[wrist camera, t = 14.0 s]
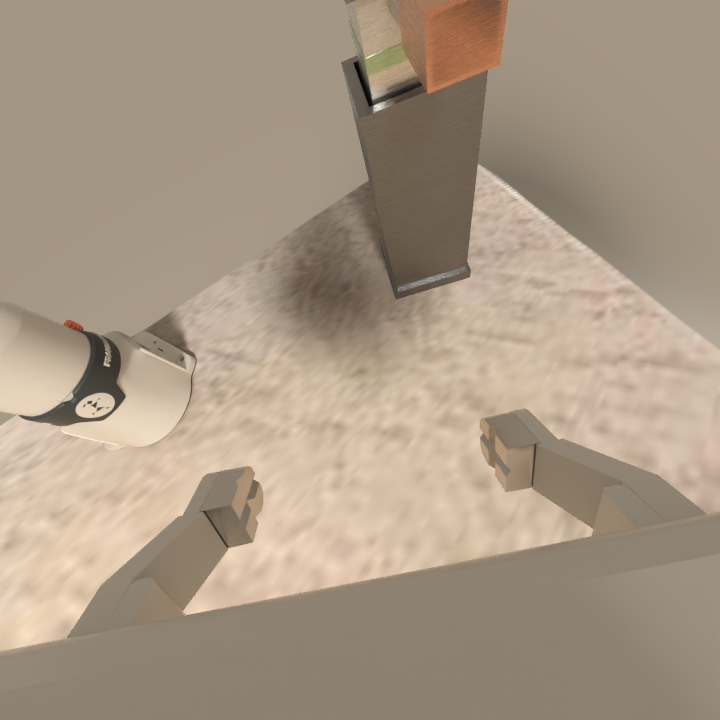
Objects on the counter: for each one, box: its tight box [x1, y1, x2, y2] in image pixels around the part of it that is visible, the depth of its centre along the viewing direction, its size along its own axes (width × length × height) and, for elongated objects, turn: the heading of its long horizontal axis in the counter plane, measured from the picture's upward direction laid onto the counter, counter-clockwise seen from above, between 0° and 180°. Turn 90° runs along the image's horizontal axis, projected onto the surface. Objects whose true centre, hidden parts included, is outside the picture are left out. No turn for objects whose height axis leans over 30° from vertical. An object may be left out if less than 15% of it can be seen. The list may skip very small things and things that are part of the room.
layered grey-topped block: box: [345, 0, 508, 107], centre depth 26 cm, size 18×8×24 cm, turn 10°
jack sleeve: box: [342, 56, 488, 299], centre depth 35 cm, size 11×11×24 cm
